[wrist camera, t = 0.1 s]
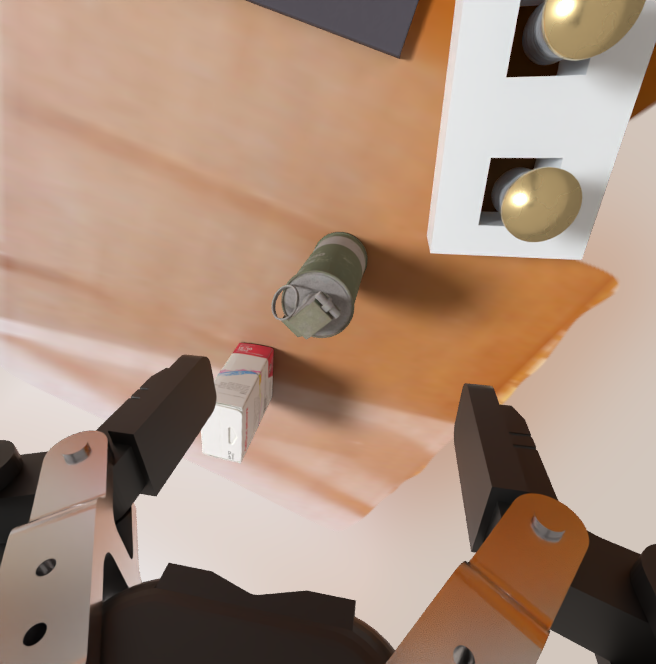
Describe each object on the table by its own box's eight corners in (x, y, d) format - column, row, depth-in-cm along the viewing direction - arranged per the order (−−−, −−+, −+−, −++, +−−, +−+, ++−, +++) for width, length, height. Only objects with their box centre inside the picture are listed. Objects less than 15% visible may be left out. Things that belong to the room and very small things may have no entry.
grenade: (341, 219, 38) (308, 266, 25) (379, 262, 39) (366, 328, 26) (300, 257, 40) (250, 318, 28) (336, 296, 42) (305, 371, 29)
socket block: (459, -34, 27) (472, -72, 22) (640, -48, 25) (701, -94, 20) (426, 235, 37) (430, 253, 32) (555, 240, 35) (581, 259, 30)
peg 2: (523, -12, 23) (560, -56, 18) (602, -18, 23) (666, -65, 17) (507, 75, 26) (534, 60, 20) (578, 72, 25) (628, 57, 19)
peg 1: (491, 159, 28) (511, 167, 23) (555, 160, 27) (593, 167, 22) (479, 220, 30) (496, 240, 25) (538, 222, 30) (569, 243, 24)
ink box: (240, 339, 47) (195, 397, 37) (277, 347, 47) (242, 408, 37) (239, 391, 52) (199, 455, 42) (274, 399, 51) (241, 465, 41)
